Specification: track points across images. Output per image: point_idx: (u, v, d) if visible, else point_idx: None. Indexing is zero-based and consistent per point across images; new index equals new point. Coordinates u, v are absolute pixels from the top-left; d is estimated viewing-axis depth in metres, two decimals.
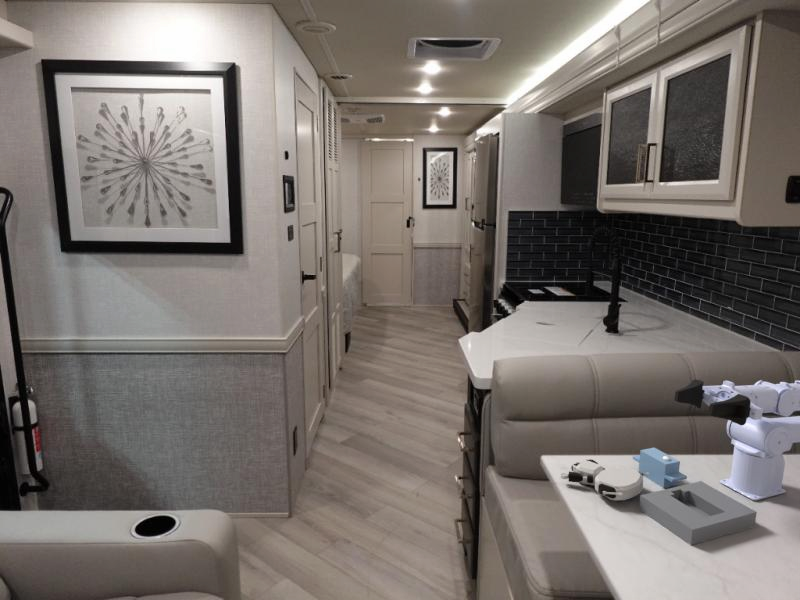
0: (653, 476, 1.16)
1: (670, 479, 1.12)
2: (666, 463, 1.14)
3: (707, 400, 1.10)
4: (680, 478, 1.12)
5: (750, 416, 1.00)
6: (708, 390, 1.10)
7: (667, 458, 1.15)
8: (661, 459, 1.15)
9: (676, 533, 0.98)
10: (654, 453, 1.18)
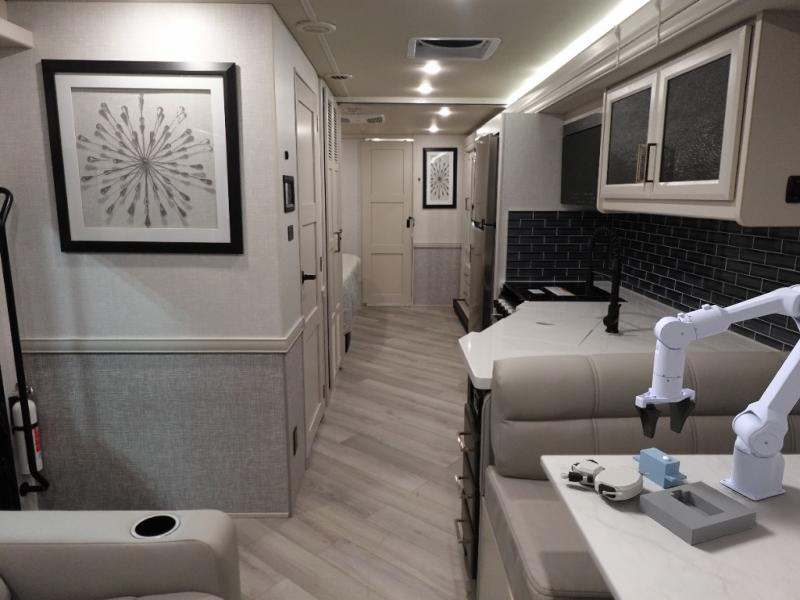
0: (653, 476, 1.16)
1: (670, 479, 1.12)
2: (666, 463, 1.14)
3: None
4: (680, 478, 1.12)
5: None
6: None
7: (667, 458, 1.15)
8: (661, 459, 1.15)
9: (676, 533, 0.98)
10: (654, 453, 1.18)
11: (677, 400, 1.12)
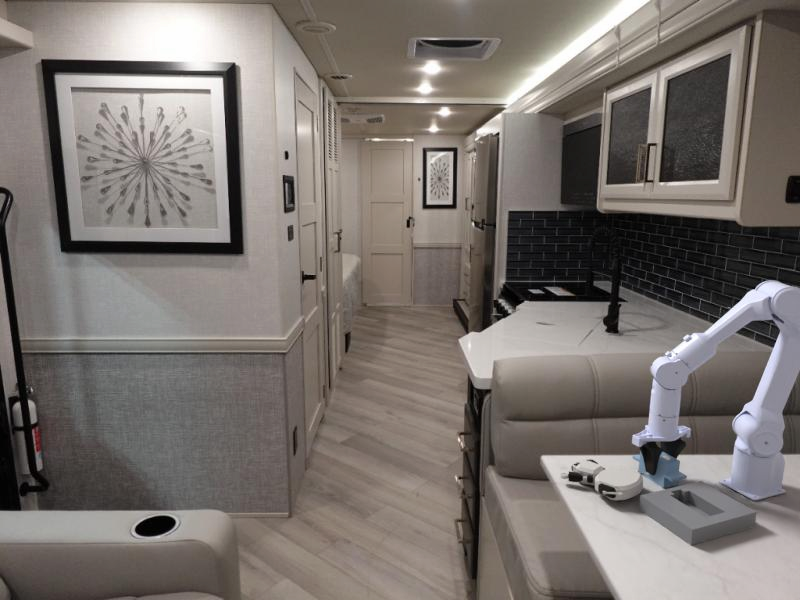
0: (653, 476, 1.16)
1: (670, 479, 1.12)
2: (666, 463, 1.14)
3: None
4: (680, 478, 1.12)
5: None
6: None
7: (667, 458, 1.15)
8: (661, 459, 1.15)
9: (676, 533, 0.98)
10: None
11: (673, 439, 1.13)
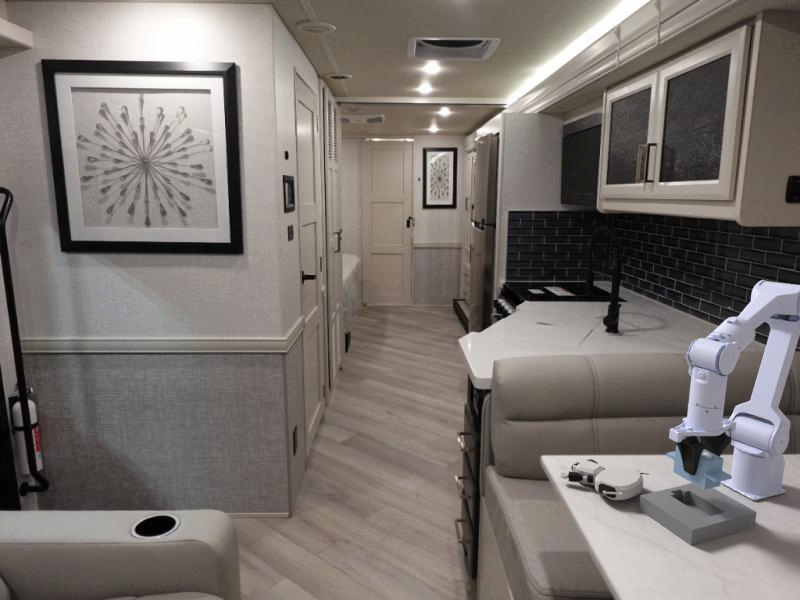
0: (692, 475, 1.01)
1: (713, 479, 0.97)
2: (708, 460, 0.98)
3: None
4: (724, 478, 0.97)
5: None
6: None
7: (708, 455, 1.00)
8: (701, 456, 1.00)
9: (676, 533, 0.98)
10: None
11: (717, 434, 0.98)
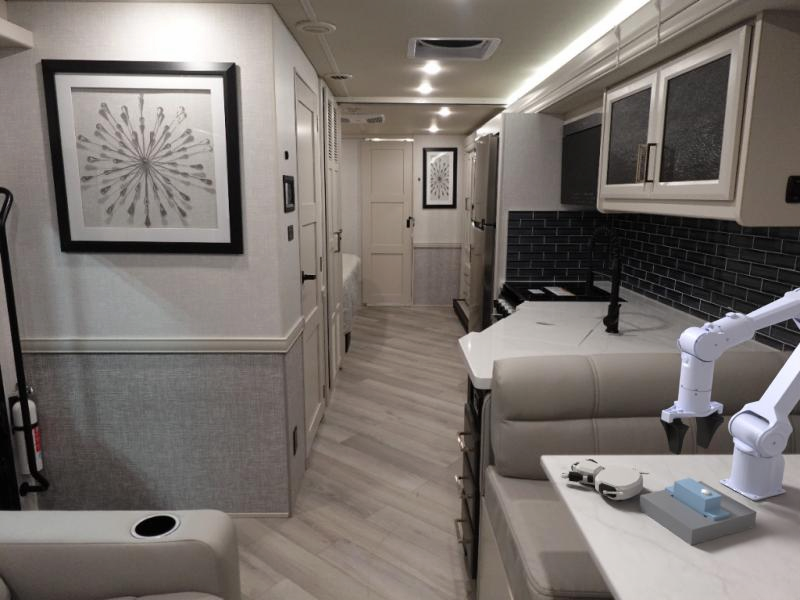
0: None
1: (711, 517, 0.98)
2: (706, 498, 0.99)
3: None
4: (722, 516, 0.98)
5: None
6: None
7: (707, 492, 1.00)
8: (700, 493, 1.01)
9: (676, 533, 0.98)
10: (690, 485, 1.04)
11: (705, 415, 1.07)
